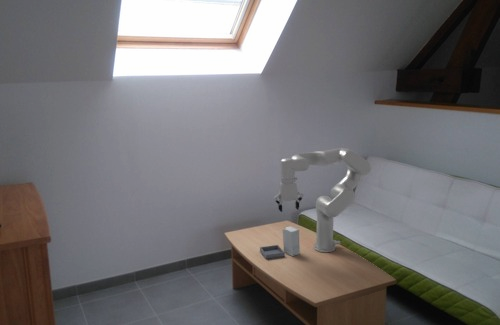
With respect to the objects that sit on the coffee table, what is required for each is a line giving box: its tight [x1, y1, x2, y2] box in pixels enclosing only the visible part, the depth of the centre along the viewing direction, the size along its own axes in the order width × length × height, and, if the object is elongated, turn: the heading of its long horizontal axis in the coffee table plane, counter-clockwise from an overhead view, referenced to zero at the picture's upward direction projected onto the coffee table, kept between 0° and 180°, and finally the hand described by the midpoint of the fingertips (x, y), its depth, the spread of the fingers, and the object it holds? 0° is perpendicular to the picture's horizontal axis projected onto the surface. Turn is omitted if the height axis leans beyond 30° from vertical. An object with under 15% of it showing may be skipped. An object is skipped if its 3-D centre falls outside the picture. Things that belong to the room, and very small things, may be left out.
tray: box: [259, 244, 285, 260], centre depth 241 cm, size 11×11×3 cm
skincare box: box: [282, 225, 301, 257], centre depth 241 cm, size 8×6×15 cm
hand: (289, 209), depth 236 cm, fingers open, 9 cm apart
